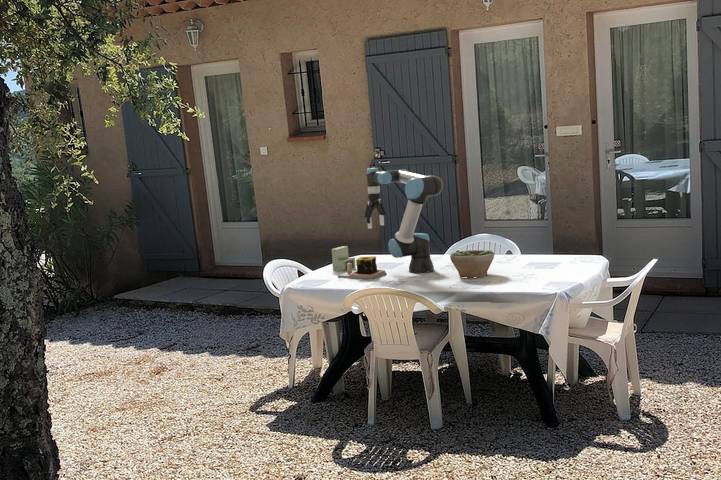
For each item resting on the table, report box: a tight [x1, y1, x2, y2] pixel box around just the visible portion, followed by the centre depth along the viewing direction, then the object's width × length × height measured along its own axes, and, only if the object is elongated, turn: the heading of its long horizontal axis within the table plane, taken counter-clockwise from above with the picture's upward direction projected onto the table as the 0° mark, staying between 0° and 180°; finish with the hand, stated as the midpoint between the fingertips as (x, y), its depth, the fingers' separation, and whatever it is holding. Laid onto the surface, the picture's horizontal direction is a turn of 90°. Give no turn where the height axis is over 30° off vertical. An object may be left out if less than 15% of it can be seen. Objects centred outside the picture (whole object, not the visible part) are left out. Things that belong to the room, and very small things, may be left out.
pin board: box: [337, 263, 388, 280], centre depth 473 cm, size 25×16×7 cm, turn 55°
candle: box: [355, 256, 378, 275], centre depth 470 cm, size 10×10×10 cm
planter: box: [449, 249, 495, 279], centre depth 450 cm, size 26×25×15 cm
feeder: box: [331, 245, 357, 273], centre depth 497 cm, size 9×12×14 cm
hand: (376, 226), depth 488 cm, fingers open, 13 cm apart
